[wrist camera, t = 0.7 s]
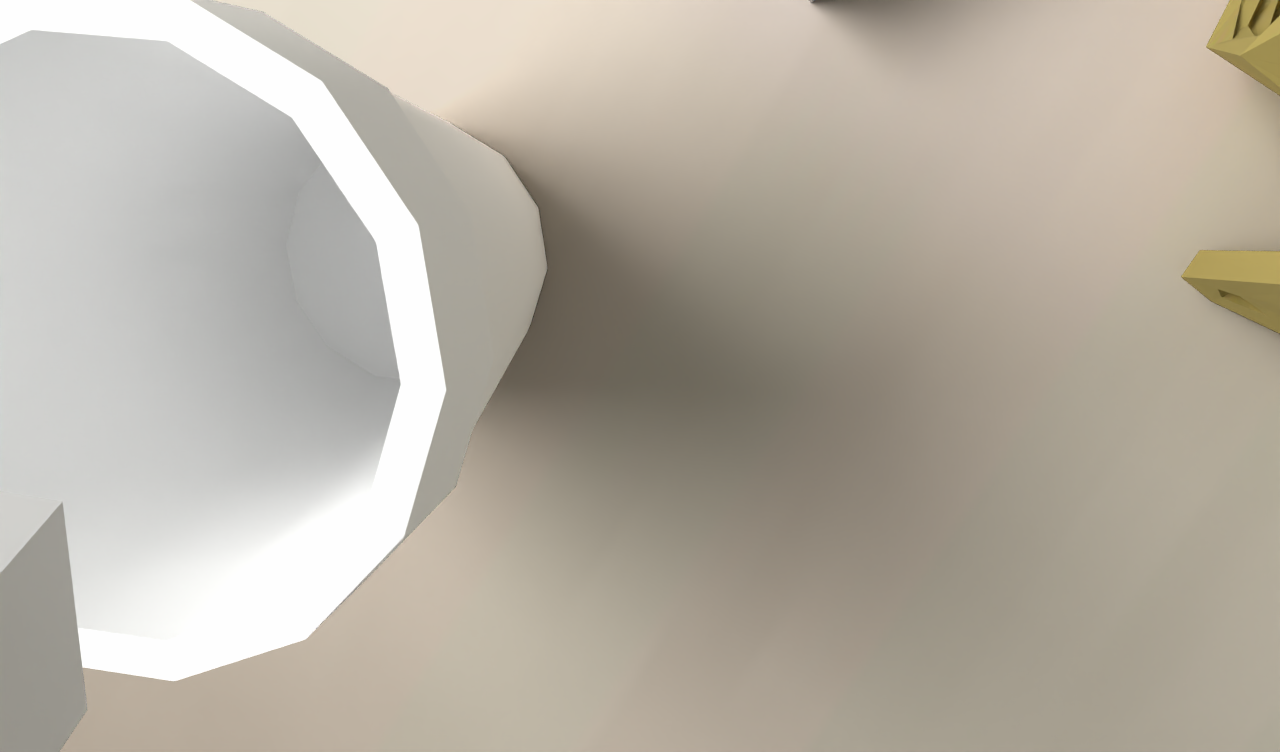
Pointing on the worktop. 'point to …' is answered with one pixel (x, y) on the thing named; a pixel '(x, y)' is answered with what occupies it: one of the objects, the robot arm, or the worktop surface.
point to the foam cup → (236, 317)
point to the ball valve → (1245, 280)
